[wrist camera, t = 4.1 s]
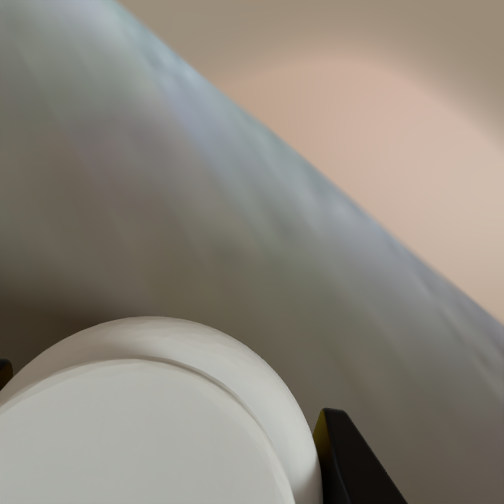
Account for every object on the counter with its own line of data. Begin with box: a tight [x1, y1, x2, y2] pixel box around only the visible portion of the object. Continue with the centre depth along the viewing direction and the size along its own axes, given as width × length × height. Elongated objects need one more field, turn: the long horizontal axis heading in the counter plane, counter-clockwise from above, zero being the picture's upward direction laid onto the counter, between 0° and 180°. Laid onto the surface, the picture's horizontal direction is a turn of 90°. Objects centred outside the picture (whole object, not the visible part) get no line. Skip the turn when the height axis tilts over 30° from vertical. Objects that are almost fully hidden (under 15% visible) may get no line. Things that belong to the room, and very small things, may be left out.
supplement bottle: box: [0, 316, 323, 504], centre depth 10 cm, size 6×6×10 cm
